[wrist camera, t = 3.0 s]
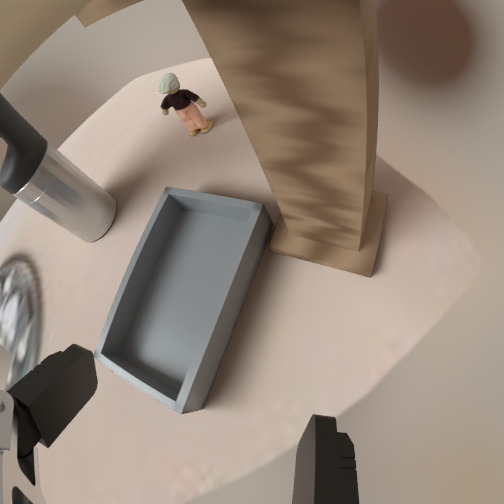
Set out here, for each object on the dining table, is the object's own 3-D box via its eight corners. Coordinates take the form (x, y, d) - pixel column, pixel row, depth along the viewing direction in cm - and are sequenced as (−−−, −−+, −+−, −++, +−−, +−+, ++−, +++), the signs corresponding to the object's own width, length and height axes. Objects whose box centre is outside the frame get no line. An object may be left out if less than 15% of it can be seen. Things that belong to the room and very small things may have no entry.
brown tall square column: (265, 266, 35) (68, 5, 7) (296, 182, 38) (202, -68, 10) (365, 294, 31) (408, -77, 2) (387, 201, 34) (394, -86, 5)
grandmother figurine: (218, 115, 48) (188, 60, 37) (218, 130, 46) (186, 73, 35) (178, 129, 50) (144, 79, 38) (177, 143, 48) (139, 92, 37)
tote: (118, 360, 36) (93, 356, 32) (183, 204, 42) (166, 186, 38) (202, 409, 31) (180, 414, 26) (273, 223, 37) (263, 203, 33)
